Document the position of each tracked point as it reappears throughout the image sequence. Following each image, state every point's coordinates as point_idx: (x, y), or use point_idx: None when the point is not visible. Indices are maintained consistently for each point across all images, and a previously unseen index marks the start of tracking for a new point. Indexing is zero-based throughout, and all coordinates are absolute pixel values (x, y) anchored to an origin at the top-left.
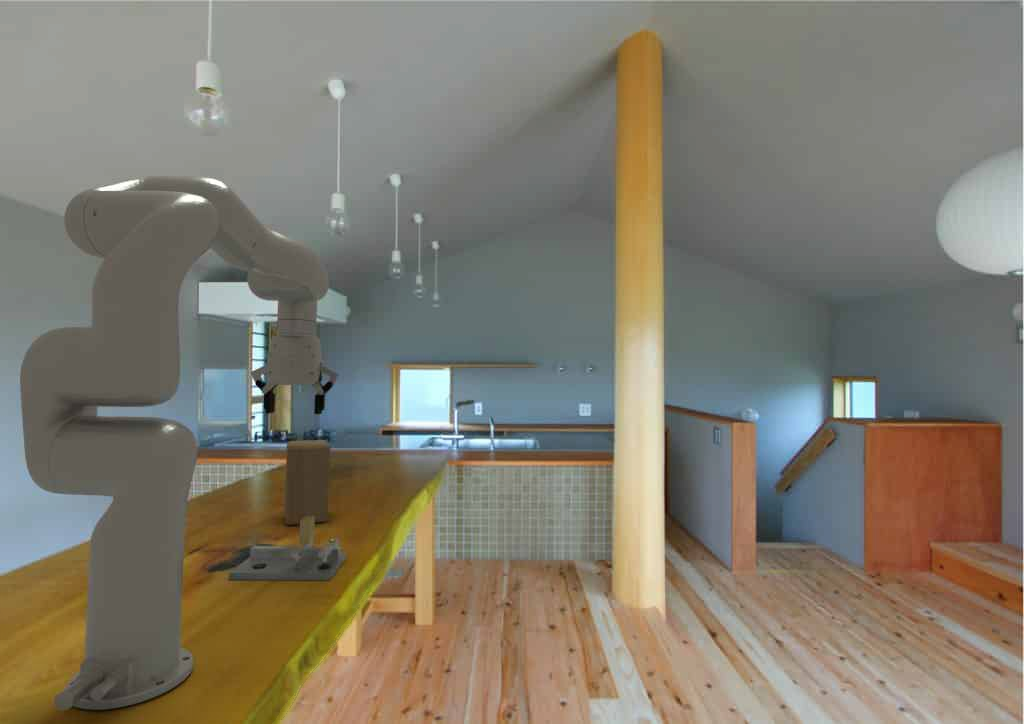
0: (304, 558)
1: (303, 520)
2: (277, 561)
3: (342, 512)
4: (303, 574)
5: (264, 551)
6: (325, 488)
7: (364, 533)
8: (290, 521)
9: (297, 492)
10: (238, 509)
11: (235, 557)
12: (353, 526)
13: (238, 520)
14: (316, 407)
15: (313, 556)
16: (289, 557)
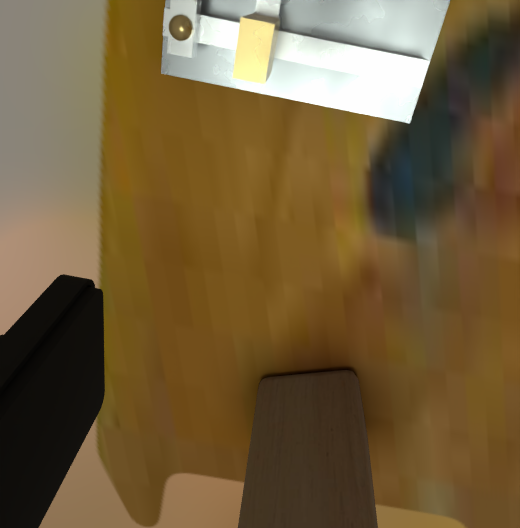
0: None
1: (263, 22)
2: (343, 16)
3: (234, 443)
4: None
5: (386, 51)
6: (257, 443)
7: (155, 279)
8: (345, 373)
9: (333, 433)
10: (476, 503)
11: (463, 134)
12: (192, 337)
13: (472, 428)
14: (42, 315)
15: None
16: (312, 35)
